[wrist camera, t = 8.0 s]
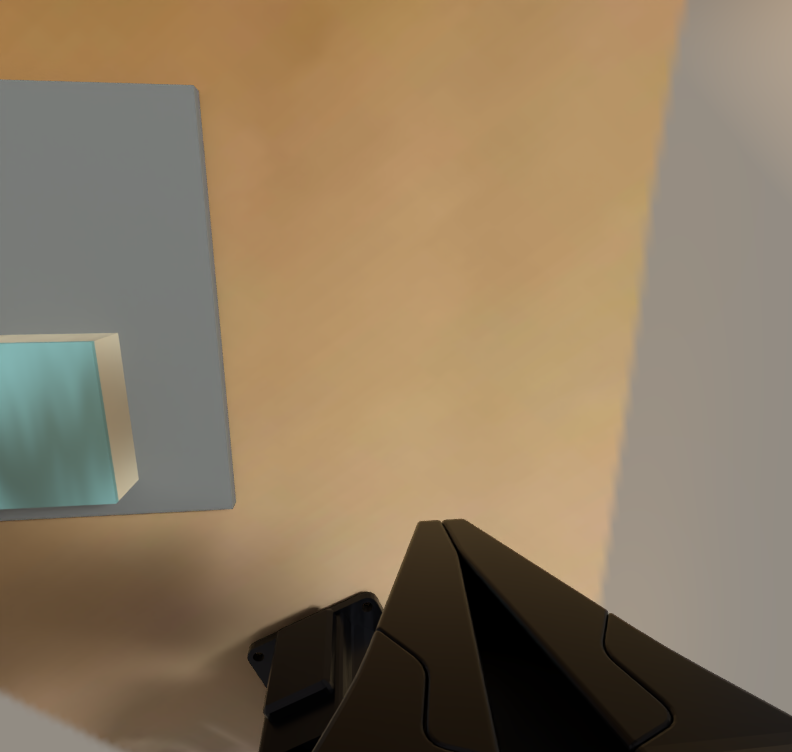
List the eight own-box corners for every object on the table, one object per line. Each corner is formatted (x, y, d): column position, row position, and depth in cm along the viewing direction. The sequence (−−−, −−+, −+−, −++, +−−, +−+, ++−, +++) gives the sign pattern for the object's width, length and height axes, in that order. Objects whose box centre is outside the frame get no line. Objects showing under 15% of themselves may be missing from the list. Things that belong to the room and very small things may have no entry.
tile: (116, 503, 18) (-124, 515, 17) (138, 479, 20) (-76, 489, 19) (91, 341, 16) (-172, 347, 16) (118, 332, 18) (-115, 337, 18)
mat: (235, 501, 21) (232, 508, 20) (-65, 517, 20) (-78, 525, 19) (198, 90, 17) (193, 85, 17) (-177, 80, 16) (-197, 74, 15)
